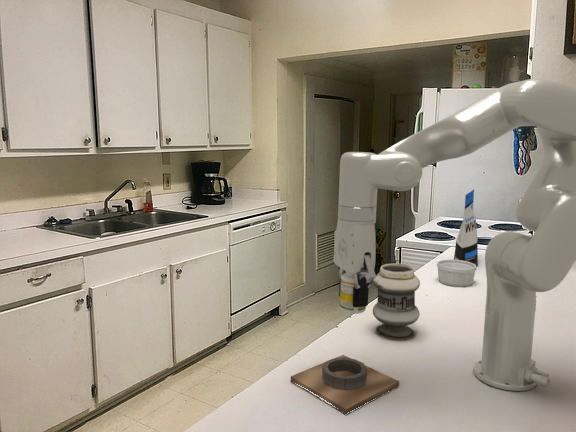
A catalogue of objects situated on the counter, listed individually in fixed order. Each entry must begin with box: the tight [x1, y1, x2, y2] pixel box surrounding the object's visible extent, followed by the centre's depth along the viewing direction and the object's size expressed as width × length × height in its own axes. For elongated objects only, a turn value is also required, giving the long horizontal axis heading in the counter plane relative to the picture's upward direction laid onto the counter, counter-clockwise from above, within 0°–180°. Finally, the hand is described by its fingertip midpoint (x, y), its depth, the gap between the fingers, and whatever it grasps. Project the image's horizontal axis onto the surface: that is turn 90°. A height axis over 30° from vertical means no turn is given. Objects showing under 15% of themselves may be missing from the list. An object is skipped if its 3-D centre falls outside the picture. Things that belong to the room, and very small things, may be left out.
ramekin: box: [436, 259, 477, 288], centre depth 169 cm, size 13×13×7 cm
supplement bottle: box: [339, 269, 367, 315], centre depth 97 cm, size 5×5×10 cm
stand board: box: [290, 354, 400, 415], centre depth 99 cm, size 16×16×4 cm
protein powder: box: [453, 189, 479, 268], centre depth 192 cm, size 10×24×30 cm, turn 152°
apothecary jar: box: [372, 263, 421, 341], centre depth 124 cm, size 12×12×18 cm
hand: (353, 300), depth 97 cm, fingers closed on supplement bottle, 5 cm apart
